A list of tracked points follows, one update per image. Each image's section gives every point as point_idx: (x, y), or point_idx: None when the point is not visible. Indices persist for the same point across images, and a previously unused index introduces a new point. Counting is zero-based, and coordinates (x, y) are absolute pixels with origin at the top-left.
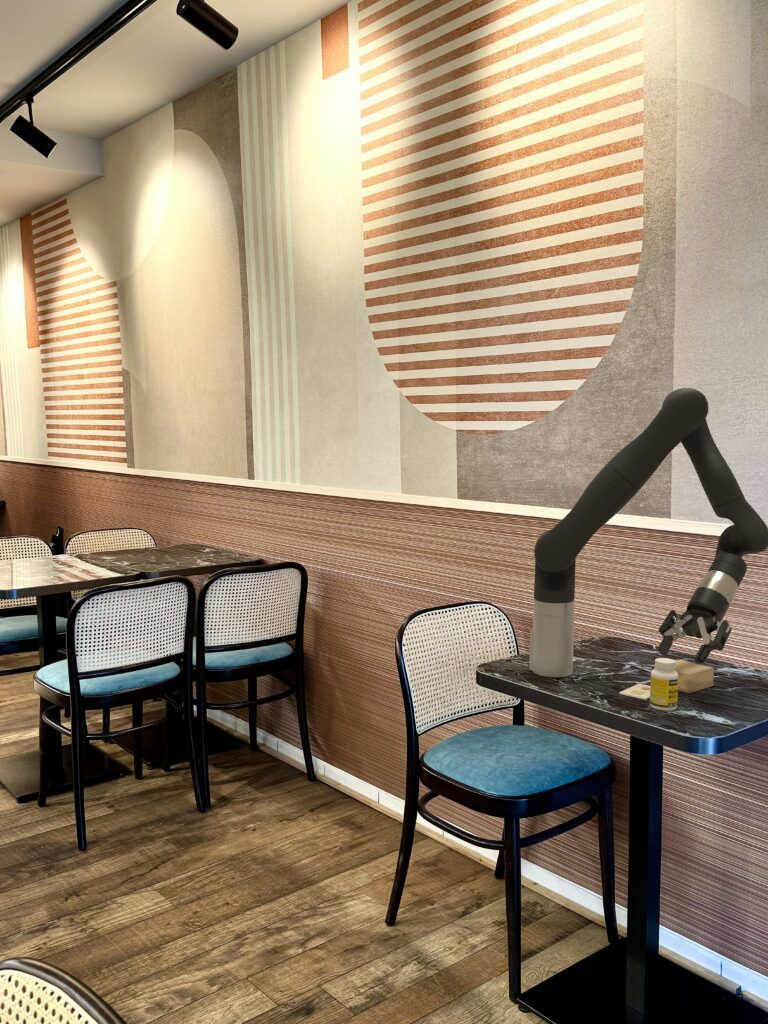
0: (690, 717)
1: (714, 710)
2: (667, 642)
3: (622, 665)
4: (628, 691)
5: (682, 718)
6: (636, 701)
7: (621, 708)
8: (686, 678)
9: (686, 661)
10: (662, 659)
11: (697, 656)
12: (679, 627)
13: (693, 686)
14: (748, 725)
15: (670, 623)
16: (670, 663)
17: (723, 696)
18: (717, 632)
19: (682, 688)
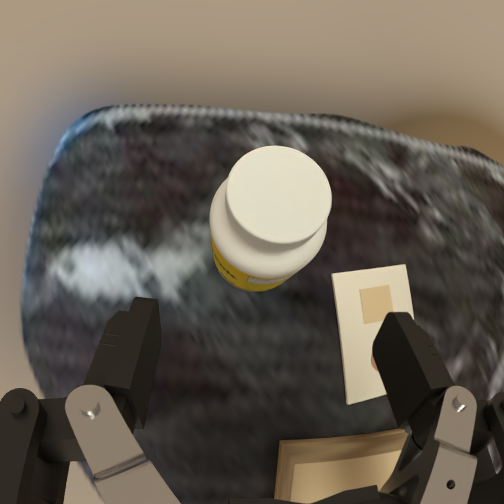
0: (149, 227)
1: None
2: (411, 372)
3: (495, 460)
4: (397, 293)
5: (161, 203)
6: (336, 241)
7: (320, 161)
8: (302, 457)
9: None
10: (302, 196)
11: (137, 306)
12: (425, 476)
13: (282, 468)
14: (24, 283)
15: (501, 486)
16: (233, 168)
17: (191, 486)
18: (16, 493)
19: (307, 443)
